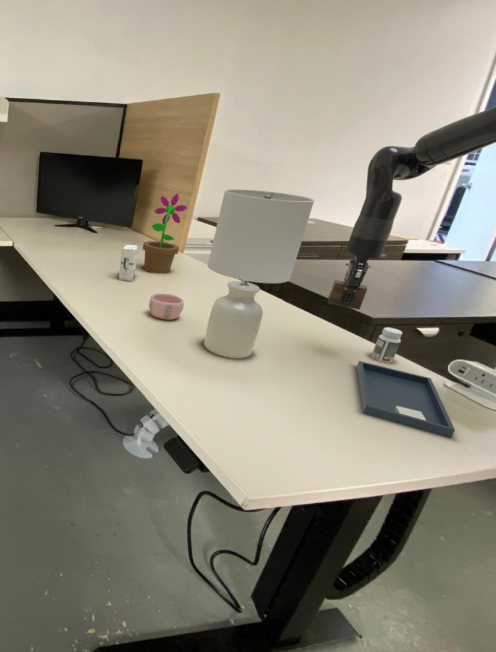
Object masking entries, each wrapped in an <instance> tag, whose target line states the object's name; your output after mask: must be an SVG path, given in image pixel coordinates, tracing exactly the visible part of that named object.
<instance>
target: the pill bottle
mask: <svg viewBox="0 0 496 652" xmlns="http://www.w3.org/2000/svg"><path fill="white" fill-rule="evenodd" d="M402 335H403V331H402V330H399V329H397V328H394V327H383V329H382V332H381V334H380V335H379V336H378V338H377V340H376V343H375V345H374V348H373V350H372V353H371V358H372V359H374V360H376V361H379V362H383V363H388V364H389V363H392V362H393V361H394V359H395V356H396V354H397V352H398V349H399V347H400V344H401V343H402V342H401V341H402V340H401V337H402Z"/></svg>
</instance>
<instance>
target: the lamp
mask: <svg viewBox="0 0 496 652" xmlns="http://www.w3.org/2000/svg"><path fill="white" fill-rule="evenodd" d="M314 203H315V199H313V198H312V197H308V196H303V195H297V194H291V193H285V192H277V191H268V190H257V189H245V188H244V189H241V188H229V189H228V188H227V189H225V190H224V192H223V197H222V202H221V205H220V210H219V215H218V219H217V223H216V228H215V232H214V236H213V240H212V245H211V249H210V252H209V259H208V261H207V268H208V269H209V270H210V271H212V272H214V273H216V274H218V275H221V276H225V277H226V278H227V277H228V278H231V279H235V280H232V281H229V282H227V288H228V293H227V294H226V295H222V296H220V297H218V298H216V300H214V302H213V305H212V307H211V310H210V314H209V317H208V321H207V324H206V325H207V326H206V329H205V335H204V341H203V345H204V347H205V349H206V350H208V352H211V353H213V354H215V355H216V356H217V355H218V356H219V357H224V358H229V359H246V358H248V357H250V356H251V355H252V352H253V349H254V346H255V344H256V340H257V338H258V334H259V331H260V327H261V324H262V321H263V314H264V313H263V311H264V310H263V307H262V306H261V304H259V303H258V302H257V301H256V299H255V296H256V295H257V294H258V293H259V292H260V291H261V288H260V287H259V286H258V285H257V284H254V283H258V284H259V283H260V284H282V283H283V284H284V283H287V282H289V281H290V280H291V277H292V274H293V272H294V271H293V270H294V267H295V264H296V261H297V258H298V255H299V251H300V249H301V245H302V242H303V239H304V235H305V233H306V229H307V226H308V222H309V219H310V216H311V212H312V210H313V206H314Z"/></svg>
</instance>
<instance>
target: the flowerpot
mask: <svg viewBox="0 0 496 652" xmlns="http://www.w3.org/2000/svg"><path fill="white" fill-rule="evenodd" d="M179 196H180V195H179V194H178V193H176V194H174V195H173V196H172V198H171V200H170V201H169V200H168V198H167V197H166V196H164V195H161V197H160V202H161V204H162V205H163V206H164V207H158V208H156V209H154V213H155V214H157V215H162V214H164V216H163V218H162V220H161V221H162V222H161V223H160V222H155V223H154V224H152V225H151V228H152V229H153V230H154V231H155V232H162V233H161V238H160V241H158V240H157V241H154V240H153V241H152V240H151V241H150V240H149V241H143V244H142V250H143V251H144V263H143V266H144V267H143V270H145V272H148V273H153V274H167V273H170V270H171V267H172V265H173V262H174V259H175V255H178V254H179V252H180V251H179V250H180V246H178V245H176V244H174V243H170V242H166V241H174V240H175V238H174V237H173V236H172V235H169V234H165V233H166V228H167V224H168V223H169V221H170V219H171V218H172V220H173V221H174V223H176V224H180V223H181V217H180V216H179V214H178V213H176V212H179V213H180V212H183V211H185V210H187V206H188V205H187V206H186V205H184V204H180V205H177V204H178V201H179V199H180V198H179ZM175 205H176V206H175ZM165 207H166V208H165Z"/></svg>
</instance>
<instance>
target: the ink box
mask: <svg viewBox="0 0 496 652" xmlns="http://www.w3.org/2000/svg"><path fill="white" fill-rule="evenodd" d="M138 250H139V246H138V245H134V244H125V245H124V247H123V248H122V249H121V257H120V264H119V273H118V280H119V281H125V282H130V283H131V282H132V280H133V279H134V277H135V275H136V266H137V258H138Z"/></svg>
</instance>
